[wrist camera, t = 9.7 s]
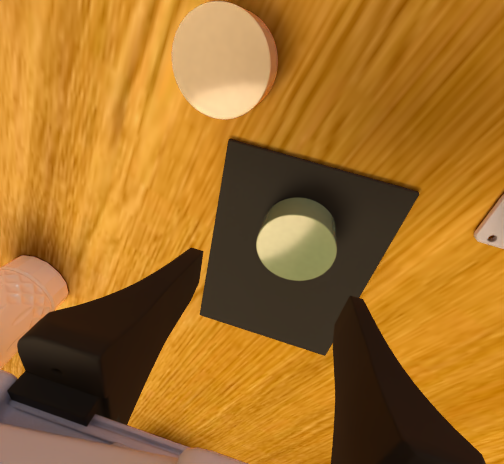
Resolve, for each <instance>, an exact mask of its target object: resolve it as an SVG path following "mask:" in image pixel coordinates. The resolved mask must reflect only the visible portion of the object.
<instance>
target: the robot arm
mask: <svg viewBox="0 0 504 464" xmlns="http://www.w3.org/2000/svg"><path fill="white" fill-rule="evenodd" d="M492 235H494V237H493V238H491V239H488V237H489V236H492ZM474 237H475V239H476V240H477V241H479V242H481V243H485V244H488V245H492V246H495V247H499V248H502V249H504V194H503V195H502V196H501V198H500V199H499V200H498V202H497V203H496V204H495V206H494V207H493V208H492V210H491V211H490V212H489V214H488V215H487V216H486V218H485V219H484V220H483V222H482V223H481V224H480V225H479V227H478V228H477V229H476V231H475V232H474ZM202 257H203V251H201V250H197V249H194V248H190V249H188V250H187V251H185V252H184V253H183V254H181V255H180V256H179V257H177V258H176V259H174V260H173V261H172V262H170V263H169V264H167V265H166V266H164V267H162V268H161V269H159V270H158V271H156V272H154V273H153V274H151V275H149V276H148V277H146V278H144V279H142V280H141V281H139V282H137V283H135V284H133V285H131V286H129V287H127V288H124V289H122V290H120V291H117V292H115V293H112V294H110V295H107V296H105V297H102V298H99V299H96V300H93V301H90V302H87V303H84V304H80V305H77V306H73V307H69V308H65V309H61V310H57V311H52V312H49V313H48V314H46V315H45V316H44V317H43V318H41V319H40V320H39V321H38V322H37V323H36V324H35V325H34V326H33V327H32V328H31V329H30V330H29V331H28V332H26V333H25V334H24V335H23V336H22V337H21V338H20V339H19V340H18V343H17V349H18V353H19V356H20V358H21V361H22V363H23V366H24V368H25V372H24V373H23V374H22V375H21V376H20V377H19V379H17V377H15V376H14V375H13V374H11V373H9V372H6V371H3V370H0V464H248V463H245V462H242V461H239V460H236V459H233V458H231V457H228V456H225V455H222V454H219V453H216V452H214V451H211V450H207V449H202V448H198V447H197V448H190V447H187V446H184V445H181V444H179V443H176V442H173V441H170V440H167V439H164V438H162V437H159V436H156V435H153V434H150V433H147V432H145V431H142V430H139V429H136V428H133V427H130V426H128V425H127V424H128V421H129V419H130V417H131V414H132V412H133V410H134V407H135V405H136V403H137V401H138V398H139V396H140V394H141V392H142V389H143V387H144V385H145V383H146V381H147V379H148V376H149V374H150V372H151V370H152V368H153V366H154V364H155V362H156V360H157V358H158V355H159V353H160V351H161V349H162V347H163V345H164V343H165V342H166V340H167V338H168V336H169V335H170V333H171V331H172V330H173V328H174V327H175V325H176V323H177V322H178V320H179V319H180V317H181V315H182V314H183V312H184V310H185V309H186V307H187V305H188V304H189V302H190V301H191V299H192V297H193V294H194V292H195V290H196V288H197V286H198V283H199V279H200V272H201V264H202ZM333 357H334V377H335V417H334V433H333V446H332V457H331V464H486V463H485V461H484V459H483V456H482V454H481V453H480V452H479V451H478V450H476V449H475V448H474V447H473V446H472V445H471V444H470V443H469V442H468V441H467V440H466V439H465V438H464V437H463V436H462V435H461V434H460V433H459V432H458V431H456V430H455V429H454V428H453V426H452V425H451V424H450V423H449V422H448V421H447V420H446V419H445V418H444V417H443V416H442V415H441V414H440V413H439V412H438V411H437V410H436V408H435V407H434V406H433V405H432V404H431V403H430V402H429V400H428V399H427V398H426V397H425V396H424V395H423V393H422V392H421V391H420V390H419V389H418V387H417V386H416V385H415V384H414V382H413V381H412V380H411V378H410V377H409V376H408V374H407V373H406V372H405V370H404V369H403V367H402V366H401V365H400V363H399V362H398V360H397V359H396V357H395V356H394V354H393V352H392V351H391V349H390V348H389V346H388V344H387V343H386V341H385V339H384V338H383V336H382V334H381V332H380V331H379V329H378V327H377V325H376V323H375V321H374V319H373V317H372V316H371V314H370V312H369V310H368V308H367V306H366V304H365V302H364V300H363V299H360V298H357V297H354V296H349V298H348V300H347V302H346V304H345V306H344V307H343V309H342V311H341V313H340V315H339V317H338V319H337V320H336V322H335V326H334V337H333Z"/></svg>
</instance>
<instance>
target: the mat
mask: <svg viewBox="0 0 504 464" xmlns="http://www.w3.org/2000/svg"><path fill="white" fill-rule="evenodd" d="M418 196H419V192H418V191H415V190H411V189H407V188H404V187H400V186H397V185H393V184H390V183H386V182H382V181H379V180H375V179H372V178H368V177H365V176H361V175H358V174H354V173H350V172H347V171H343V170H340V169H336V168H333V167H329V166H325V165H322V164H318V163H315V162H311V161H308V160H304V159H300V158H297V157H293V156H290V155H286V154H283V153H279V152H275V151H272V150H268V149H265V148H261V147H258V146H254V145H251V144H247V143H243V142H240V141H236V140H233V139H229V140H228V146H227V152H226V159H225V165H224V171H223V177H222V183H221V189H220V195H219V201H218V207H217V213H216V219H215V225H214V231H213V238H212V244H211V250H210V256H209V262H208V268H207V274H206V280H205V286H204V292H203V298H202V304H201V310H200V315H202V316H205V317H208V318H211V319H214V320H217V321H220V322H223V323H226V324H229V325H232V326H235V327H238V328H241V329H245V330H248V331H251V332H254V333H257V334H260V335H263V336H266V337H269V338H272V339H275V340H278V341H281V342H285V343H288V344H291V345H294V346H297V347H300V348H303V349H306V350H309V351H312V352H315V353H318V354H321V355H324V356H325V355H326V353H327V352H328V350H329V348H330V347H331V345H332V343H333V337H334V326H335V322H336V320H337V319H338V317H339V315H340V313H341V311H342V309H343V307H344V306H345V304H346V302H347V300H348V298H349V296H354V297H357V298H359V297H360V295H361V293H362V292H363V290H364V288H365V286H366V285H367V283H368V281H369V280H370V278H371V276H372V274H373V273H374V271H375V269H376V268H377V266H378V264H379V262H380V261H381V259H382V257H383V256H384V254H385V252H386V250H387V249H388V247H389V245H390V244H391V242H392V240H393V238H394V237H395V235H396V233H397V232H398V230H399V228H400V226H401V225H402V223H403V221H404V220H405V218H406V216H407V214H408V213H409V211H410V209H411V208H412V206H413V204H414V202H415V201H416V199H417V197H418ZM289 198H307V199H310V200H313V201H316V202H318V203H319V204H321V205H322V206H324V207H325V208H326V209H327V210H328V211H329V212H330V214H331V215H332V217H333V219H334V221H335V225H336V238H337V254H336V258H335V261H334V263H333V264H332V266H331V267H330V268H329V269H328V270H327V271H326V272H325V273H324V274H322V275H320V276H319V277H316V278H314V279H310V280H304V281H294V280H288V279H285V278H282V277H279V276H277V275H275V274H274V273H272V272H271V271H270V270H268V269H267V268H266V267H265V266H264V264H263V263H262V262H261V260H260V258H259V256H258V253H257V249H256V241H257V236H258V234H259V231H260V228H261V226H262V223H263V220H264V218H265V216H266V214H267V212H268V211H269V209H270V208H271V207H272V206H274V205H275V204H277V203H278V202H280V201H282V200H285V199H289Z"/></svg>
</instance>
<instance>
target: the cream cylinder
mask: <svg viewBox="0 0 504 464" xmlns="http://www.w3.org/2000/svg"><path fill="white" fill-rule="evenodd" d="M172 67H173V72H174V76H175V79H176V82H177V84H178V87H179V89H180V91H181V92H182V94H183V96H184V97H185V98H186V100H187V101H188V102H189V103H190V104H191V105H192V106H193V107H194V108H195V109H197V110H198V111H199V112H201V113H203V114H205V115H207V116H209V117H212V118H216V119H233V118H237V117H240V116H242V115H244V114H246V113H247V112H249V111H250V110H251V109H253V108H254V107H255V106H256V105H258V104H259V103H260V102H261V101H262V100H263V99H264V98H265V97H266V96H267V94H268V93H269V92H270V90H271V88H272V86H273V84H274V81H275V78H276V74H277V67H278V56H277V49H276V45H275V41H274V39H273V36H272V34H271V32H270V31H269V29H268V27H267V26H266V25H265V23H264V22H263V21H262V20H261V19H260V18H259V17H258V16H256V15H255V14H254V13H252V12H250V11H248V10H246V9H244V8H242V7H240V6H238V5H235V4H232V3H229V2H225V1H211V2H207V3H204V4H201V5H199V6H197V7H196V8H194V9H193V10H192V11H190V12H189V13H188V14H187V15H186V17H185V18H184V19H183V20H182V22H181V23H180V25H179V27H178V29H177V31H176V34H175V37H174V41H173V46H172Z"/></svg>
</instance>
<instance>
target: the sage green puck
mask: <svg viewBox="0 0 504 464" xmlns="http://www.w3.org/2000/svg"><path fill="white" fill-rule="evenodd" d="M256 249H257V253H258V256H259V258H260V260H261V262H262V263H263V264H264V266H265V267H266V268H267V269H268V270H270V271H271V272H272V273H274V274H275V275H277V276H279V277H282V278H285V279H288V280H294V281H304V280H310V279H314V278H316V277H319V276H320V275H322V274H324V273H325V272H326V271H327V270H328V269H329V268H330V267H331V266H332V264H333V263H334V261H335V258H336V254H337V238H336V225H335V221H334V219H333V217H332V215H331V214H330V212H329V211H328V210H327V209H326V208H325V207H324V206H322V205H321V204H319V203H318V202H316V201H313V200H310V199H307V198H289V199H285V200H282V201H280V202H278V203H277V204H275V205H274V206H272V207H271V208H270V209H269V211H268V212H267V214H266V216H265V218H264V220H263V223H262V226H261V228H260V231H259V234H258V236H257V241H256Z"/></svg>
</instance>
